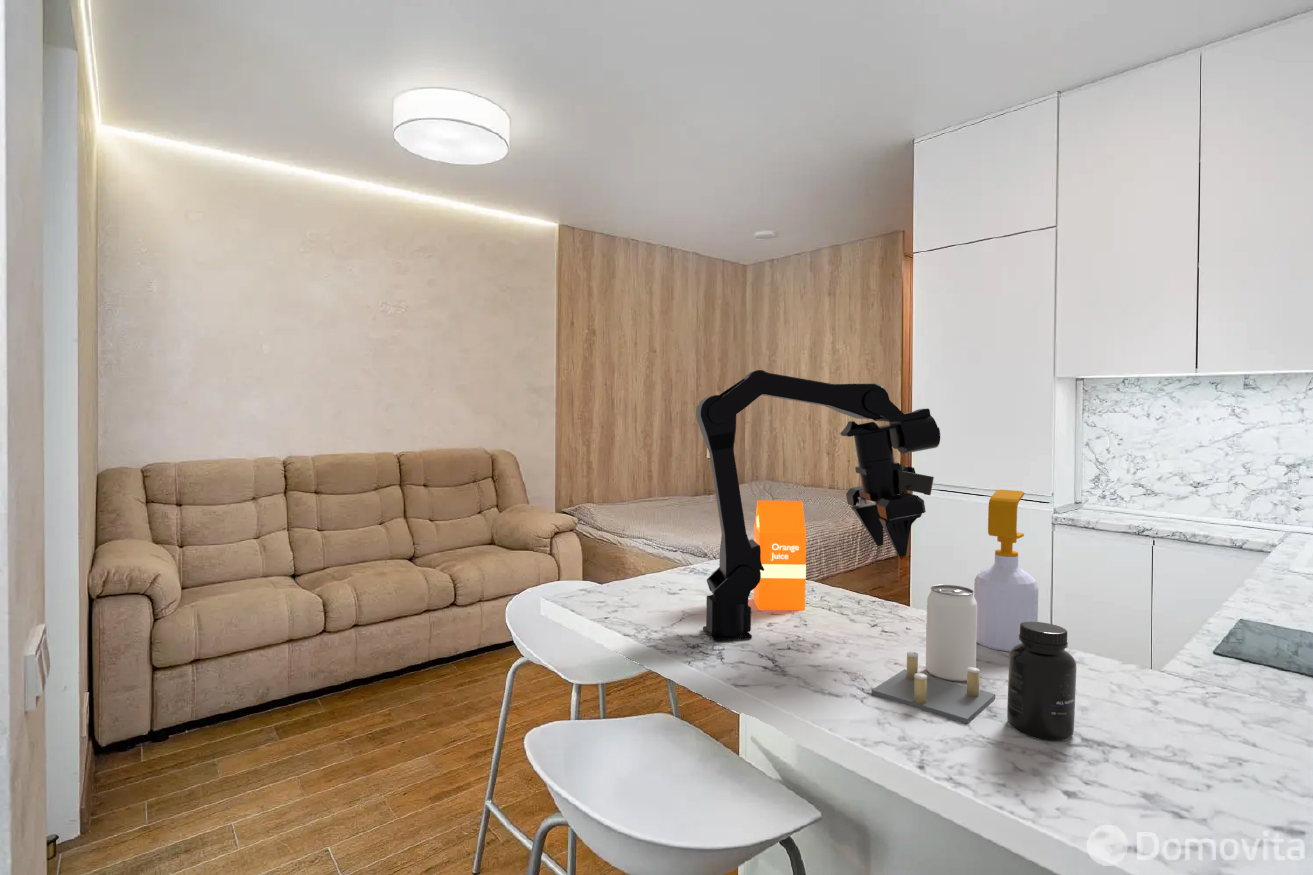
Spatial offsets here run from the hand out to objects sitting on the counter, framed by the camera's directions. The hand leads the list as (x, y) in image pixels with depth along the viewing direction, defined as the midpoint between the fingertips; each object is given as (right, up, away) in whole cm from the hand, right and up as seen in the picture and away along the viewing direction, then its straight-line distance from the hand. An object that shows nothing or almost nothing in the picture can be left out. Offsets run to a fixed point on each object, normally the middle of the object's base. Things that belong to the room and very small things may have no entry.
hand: (890, 550), depth 113 cm
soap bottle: (+17, -14, -4) cm, 22 cm away
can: (+2, -15, -17) cm, 23 cm away
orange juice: (-16, -13, +17) cm, 27 cm away
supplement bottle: (+6, -15, -34) cm, 38 cm away
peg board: (-3, -15, -25) cm, 29 cm away
